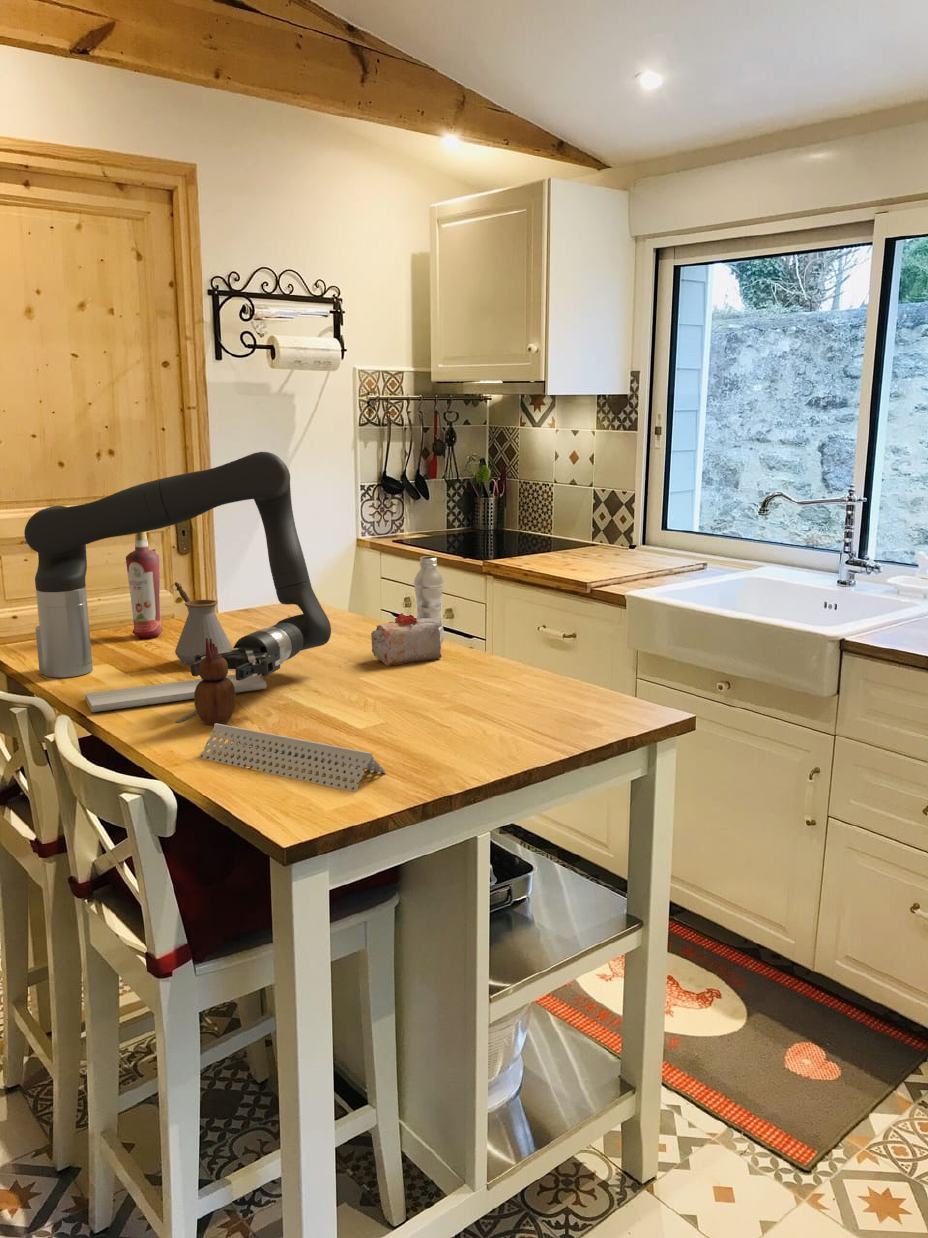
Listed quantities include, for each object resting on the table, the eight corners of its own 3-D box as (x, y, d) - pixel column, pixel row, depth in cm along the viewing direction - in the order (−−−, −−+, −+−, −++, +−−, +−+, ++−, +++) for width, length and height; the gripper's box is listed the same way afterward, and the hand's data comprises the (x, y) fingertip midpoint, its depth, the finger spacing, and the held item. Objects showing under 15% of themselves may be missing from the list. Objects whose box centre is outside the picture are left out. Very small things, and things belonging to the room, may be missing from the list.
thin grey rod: (175, 722, 169) (175, 721, 169) (234, 692, 186) (234, 691, 186) (179, 722, 169) (179, 721, 169) (238, 692, 186) (238, 691, 186)
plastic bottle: (450, 645, 222) (449, 556, 218) (432, 652, 216) (432, 560, 212) (426, 642, 225) (425, 554, 221) (408, 648, 220) (407, 558, 216)
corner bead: (196, 763, 152) (194, 731, 151) (236, 745, 159) (234, 715, 158) (354, 797, 138) (353, 763, 137) (389, 776, 146) (388, 744, 145)
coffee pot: (241, 664, 207) (237, 593, 204) (186, 672, 200) (182, 599, 197) (204, 644, 224) (200, 578, 221) (153, 651, 218) (148, 584, 214)
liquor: (170, 633, 235) (162, 514, 229) (154, 641, 228) (145, 518, 222) (142, 632, 236) (133, 514, 230) (125, 639, 229) (116, 517, 223)
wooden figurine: (214, 730, 165) (208, 641, 162) (189, 724, 168) (183, 637, 165) (243, 719, 170) (238, 633, 167) (218, 713, 173) (214, 629, 170)
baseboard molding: (83, 698, 184) (92, 714, 173) (82, 682, 183) (91, 698, 172) (250, 676, 197) (267, 690, 187) (249, 662, 197) (266, 675, 186)
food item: (384, 668, 203) (383, 621, 201) (369, 660, 210) (368, 614, 208) (444, 660, 210) (443, 614, 208) (427, 652, 216) (426, 608, 214)
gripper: (227, 628, 184) (177, 648, 169) (297, 633, 180) (251, 654, 165) (230, 667, 186) (179, 690, 171) (298, 673, 181) (253, 697, 166)
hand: (215, 672), depth 168 cm, fingers open, 8 cm apart
